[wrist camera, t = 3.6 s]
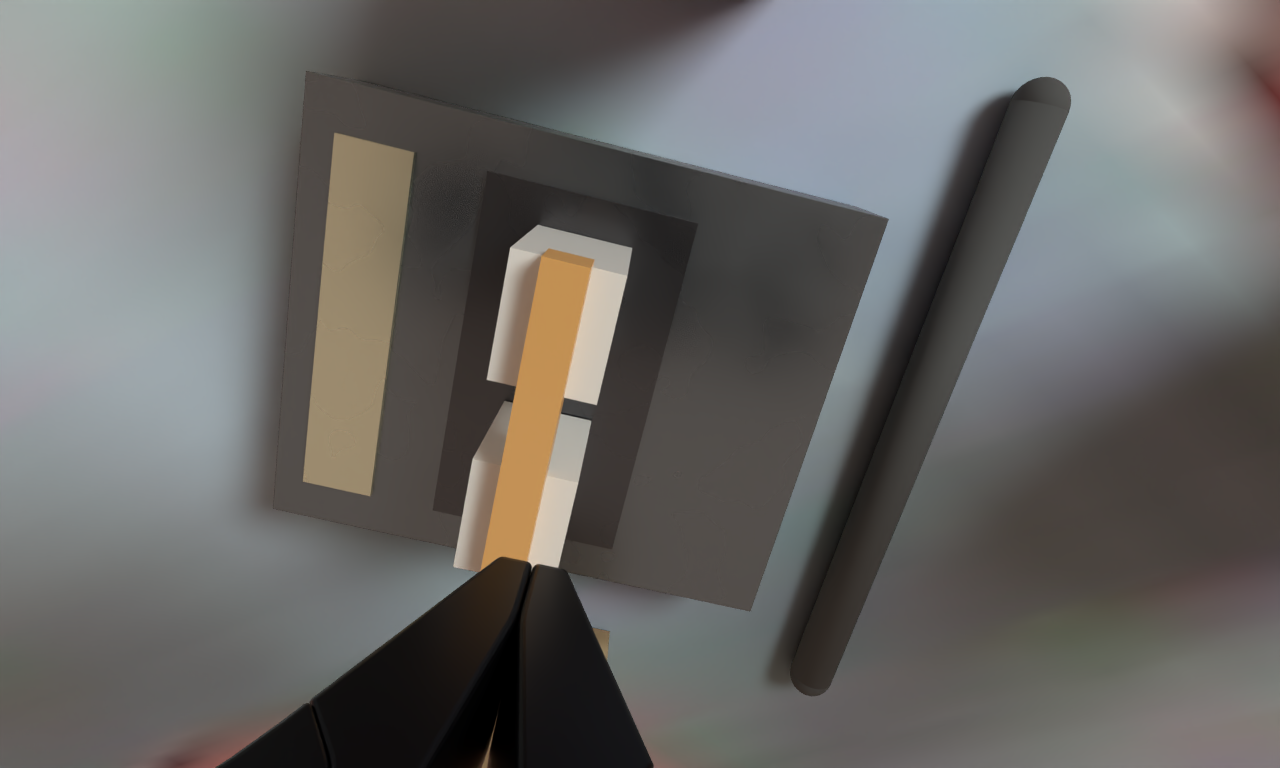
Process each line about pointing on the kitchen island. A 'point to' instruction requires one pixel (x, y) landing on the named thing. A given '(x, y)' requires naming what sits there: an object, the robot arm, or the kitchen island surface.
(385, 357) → the breaker panel
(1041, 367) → the kitchen island surface
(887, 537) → the dark gray rod
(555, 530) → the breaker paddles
